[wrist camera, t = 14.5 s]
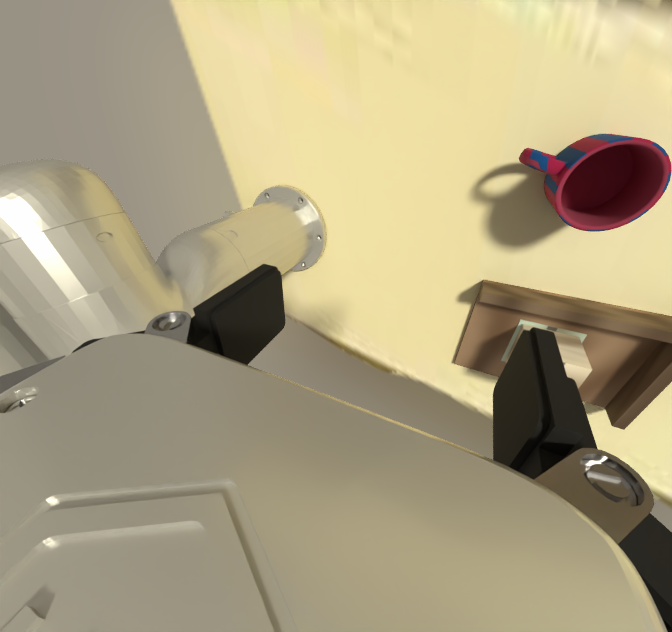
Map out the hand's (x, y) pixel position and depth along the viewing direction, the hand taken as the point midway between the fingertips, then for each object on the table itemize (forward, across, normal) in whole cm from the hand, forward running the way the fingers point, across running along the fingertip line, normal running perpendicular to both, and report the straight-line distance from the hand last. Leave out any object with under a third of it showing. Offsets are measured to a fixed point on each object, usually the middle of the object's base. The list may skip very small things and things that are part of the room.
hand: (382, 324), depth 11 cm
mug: (+28, -10, -3) cm, 30 cm away
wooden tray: (+28, -16, +17) cm, 37 cm away
